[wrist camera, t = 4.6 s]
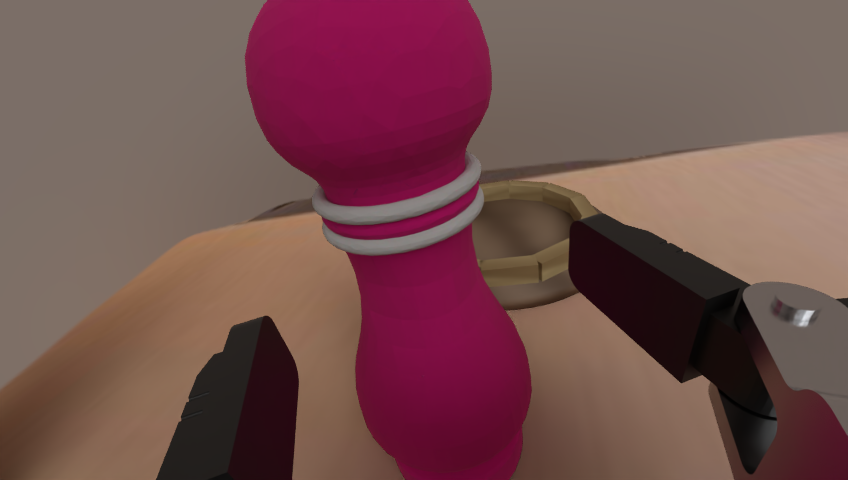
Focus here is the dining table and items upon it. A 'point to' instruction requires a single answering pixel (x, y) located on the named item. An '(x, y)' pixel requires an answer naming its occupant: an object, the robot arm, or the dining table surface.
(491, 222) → the tray
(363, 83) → the pepper mill
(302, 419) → the dining table surface
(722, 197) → the dining table surface
